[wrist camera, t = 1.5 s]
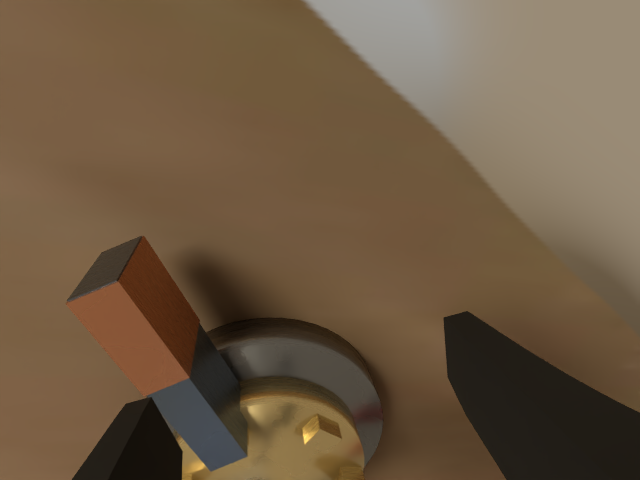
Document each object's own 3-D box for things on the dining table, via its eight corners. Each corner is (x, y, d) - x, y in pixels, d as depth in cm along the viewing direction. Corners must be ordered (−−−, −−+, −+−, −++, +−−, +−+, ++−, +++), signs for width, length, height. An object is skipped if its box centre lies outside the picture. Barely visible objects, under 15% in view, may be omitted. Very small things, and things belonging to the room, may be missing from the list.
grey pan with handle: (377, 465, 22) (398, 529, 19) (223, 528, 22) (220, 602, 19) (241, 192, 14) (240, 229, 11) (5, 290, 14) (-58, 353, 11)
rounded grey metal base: (383, 451, 25) (394, 482, 23) (190, 505, 24) (185, 542, 22) (355, 291, 19) (366, 316, 18) (105, 355, 19) (90, 387, 17)
